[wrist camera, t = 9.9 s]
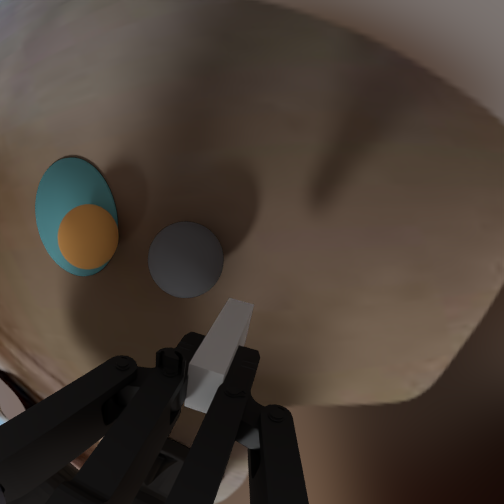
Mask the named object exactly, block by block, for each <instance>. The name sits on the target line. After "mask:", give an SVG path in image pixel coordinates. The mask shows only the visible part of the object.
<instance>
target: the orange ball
mask: <svg viewBox="0 0 504 504" xmlns="http://www.w3.org/2000/svg"><path fill="white" fill-rule="evenodd" d="M118 239H119V235H118V228H117V225H116V222H115V220H114V219H113V217H112V216H111V214H110V213H109V212H108V211H106V210H105V209H103V208H102V207H100V206H97V205H93V204H84V205H80V206H77V207H75V208H73V209H72V210H70V211H69V212H68V213H67V214H66V215H65V217H64V218H63V220H62V221H61V223H60V226H59V230H58V245H59V248H60V251H61V253H62V255H63V256H64V258H65V259H66V260H67V261H68V262H69V263H70V264H72V265H73V266H75V267H77V268H80V269H95V268H98V267H100V266H102V265H104V264H105V263H107V262H108V261H109V260H110V259H111V257H112V256H113V254H114V253H115V251H116V248H117V245H118Z"/></svg>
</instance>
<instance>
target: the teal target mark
mask: <svg viewBox="0 0 504 504" xmlns="http://www.w3.org/2000/svg"><path fill="white" fill-rule="evenodd" d="M84 204H93V205H97V206H100V207H102V208H103V209H105V210H106V211H108V212H109V213H110V214H111V216H112V217H113V219H114V220H115V222H116V225H117V228H118V219H117V211H116V206H115V202H114V199H113V196H112V193H111V191H110V188H109V187H108V185H107V183H106V181H105V179H104V178H103V176H102V175H101V174H100V173H99V171H98V170H97V169H96V168H95V167H94V166H92V165H91V164H90V163H88V162H87V161H84V160H82V159H79V158H64V159H61V160H58V161H57V162H55V163H54V164H52V165H51V166H50V167H49V168H48V169H47V171H46V172H45V174H44V175H43V177H42V179H41V181H40V184H39V187H38V190H37V195H36V204H35V212H36V222H37V227H38V231H39V234H40V237H41V239H42V242H43V244H44V246H45V248H46V250H47V251H48V253H49V254H50V256H51V257H52V258H53V260H54V261H55V262H56V263H57V264H58V265H59V266H60V267H61V268H63V269H64V270H66V271H67V272H69V273H71V274H74V275H78V276H89V275H93V274H95V273H97V272H99V271H100V270H102V269H103V268H104V267H105V266H106V265H107V264H108V262H109V261H110V260H109V261H108V262H107V263H105V264H104V265H102V266H100V267H98V268H95V269H80V268H77V267H75V266H73V265H72V264H70V263H69V262H68V261H67V260H66V259H65V258H64V256H63V255H62V253H61V251H60V248H59V245H58V230H59V226H60V223H61V221H62V220H63V218H64V217H65V215H66V214H67V213H68V212H69V211H70V210H72V209H73V208H75V207H77V206H80V205H84Z"/></svg>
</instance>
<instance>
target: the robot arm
mask: <svg viewBox="0 0 504 504" xmlns="http://www.w3.org/2000/svg"><path fill="white" fill-rule="evenodd" d="M253 307H254V304H251V303H247V302H243V301H240V300H236V299H233V298H229V299H228V301H227V302H226V304H225V306H224V307H223V309H222V310H221V312H220V314H219V315H218V317H217V319H216V320H215V322H214V324H213V325H212V327H211V328H210V330H209V332H208V333H207V335H206V336H204V335H201V334H198V333H195V332H190V333H188V334H186V335H185V336H184V337H183V338H182V340H181V341H180V342H179V344H178V345H177V347H176V348H175V349H174V348H163V349H160V350H159V351H157V352H156V367H155V368H144V367H138V366H137V364H136V361H135V360H133V359H132V358H130V357H128V356H123V355H121V356H115V357H113V358H111V359H109V360H108V361H106V362H104V363H103V364H101V365H100V366H98V367H96V368H95V369H93V370H91V371H90V372H88V373H87V374H85V375H83V376H82V377H80V378H78V379H77V380H75V381H74V382H72V383H70V384H69V385H67V386H65V387H64V388H62V389H60V390H59V391H57V392H55V393H54V394H52V395H51V396H49V397H47V398H46V399H44V400H42V401H41V402H39V403H37V404H36V405H34V406H32V407H31V408H29V409H27V410H26V411H24V412H22V413H21V414H19V415H17V416H16V417H14V418H12V419H11V420H9V421H7V422H6V423H4V424H2V425H0V504H213V503H214V500H215V497H216V495H217V492H218V489H219V486H220V483H221V480H222V477H223V474H224V471H225V469H226V466H227V463H228V460H229V457H230V454H231V451H232V448H233V445H234V442H235V440H236V441H237V442H239V443H241V444H242V445H244V446H246V447H248V468H249V486H250V487H249V488H250V504H309V502H308V497H307V491H306V487H305V480H304V475H303V470H302V464H301V459H300V454H299V449H298V443H297V438H296V433H295V428H294V422H293V417H292V415H291V412H290V411H289V410H288V409H287V408H285V407H283V406H280V405H275V404H274V405H268V406H265V407H264V406H262V405H260V404H259V403H257V402H256V401H255V400H254V399H253V397H252V396H251V387H252V384H253V381H254V377H255V374H256V370H257V367H258V363H259V360H260V355H259V352H258V350H254V349H250V348H247V347H243V346H244V344H245V341H246V337H247V332H248V328H249V324H250V320H251V316H252V312H253ZM184 401H185V404H184V406H185V407H188V408H191V409H194V410H197V411H200V412H203V413H206V415H205V418H204V420H203V422H202V424H201V427H200V429H199V431H198V433H197V435H196V437H195V440H194V442H193V444H192V446H191V448H190V449H188V448H187V447H185V446H183V445H181V444H179V443H177V442H175V441H173V440H170V439H168V436H169V434H170V432H171V430H172V428H173V427H174V425H175V423H176V421H177V419H178V417H179V415H180V413H181V406H182V404H183V402H184ZM102 437H103V439H102V440H101V441H100V443H99V444H98V446H97V447H96V448H95V450H94V451H93V452H92V454H91V455H90V456H89V458H88V459H87V461H86V462H85V463H84V465H83V466H82V467H81V469H80V470H78V469H77V468H76V467H75V466H73V465H72V464H71V463H70V462H71V461H72V460H74V459H75V458H76V457H78V456H79V455H80V454H82V453H83V452H84V451H86V450H87V449H88V448H89V447H91V446H92V445H93V444H95V443H96V442H97V441H98V440H100V439H101V438H102Z"/></svg>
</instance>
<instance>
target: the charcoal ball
mask: <svg viewBox="0 0 504 504" xmlns="http://www.w3.org/2000/svg"><path fill="white" fill-rule="evenodd" d="M223 262H224V259H223V251H222V247H221V245H220V243H219V241H218V239H217V238H216V236H215V235H214V234H213V233H212V232H211V231H210V230H209V229H207V228H206V227H204V226H202V225H200V224H198V223H194V222H178V223H174V224H171V225H169V226H167V227H165V228H164V229H163V230H161V231H160V232H159V233H158V234H157V236H156V237H155V238H154V240H153V242H152V244H151V246H150V249H149V254H148V266H149V270H150V273H151V276H152V278H153V280H154V281H155V282H156V284H157V285H158V286H159V287H160V288H161V289H162V290H163V291H165V292H166V293H168V294H170V295H172V296H175V297H180V298H191V297H196V296H199V295H202V294H204V293H205V292H207V291H208V290H209V289H211V288H212V287H213V286H214V285H215V283H216V282H217V281H218V279H219V277H220V275H221V272H222V268H223Z"/></svg>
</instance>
